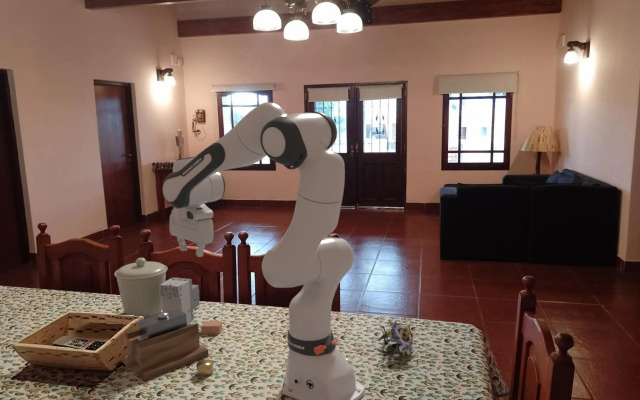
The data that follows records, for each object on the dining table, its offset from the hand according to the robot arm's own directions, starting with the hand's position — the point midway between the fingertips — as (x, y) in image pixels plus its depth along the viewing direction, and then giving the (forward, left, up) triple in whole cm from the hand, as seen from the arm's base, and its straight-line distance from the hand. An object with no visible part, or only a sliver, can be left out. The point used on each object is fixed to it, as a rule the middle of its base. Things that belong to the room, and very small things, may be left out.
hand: (191, 253), depth 149 cm
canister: (+33, +2, -29) cm, 45 cm away
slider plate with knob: (-4, +12, -21) cm, 25 cm away
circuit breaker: (+18, -5, -29) cm, 35 cm away
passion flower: (-50, -39, -29) cm, 70 cm away
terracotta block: (+2, -7, -29) cm, 30 cm away
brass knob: (-20, +9, -29) cm, 36 cm away
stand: (-4, +13, -29) cm, 32 cm away
